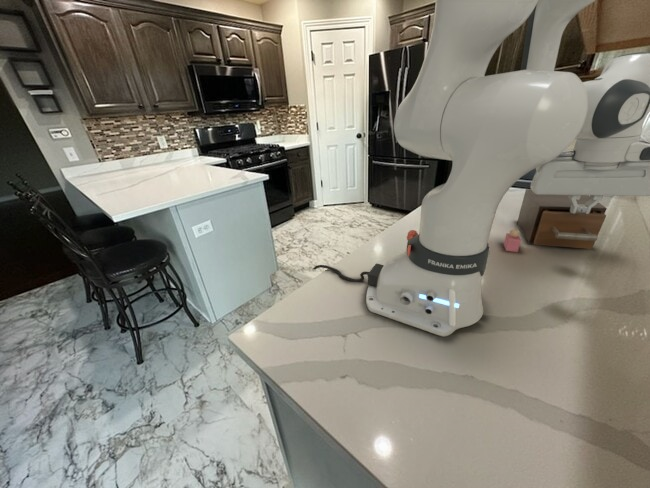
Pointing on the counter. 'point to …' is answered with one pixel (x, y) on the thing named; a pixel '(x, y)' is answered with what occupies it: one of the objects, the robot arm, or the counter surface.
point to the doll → (512, 240)
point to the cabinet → (537, 203)
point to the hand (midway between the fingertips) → (578, 213)
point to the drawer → (568, 228)
